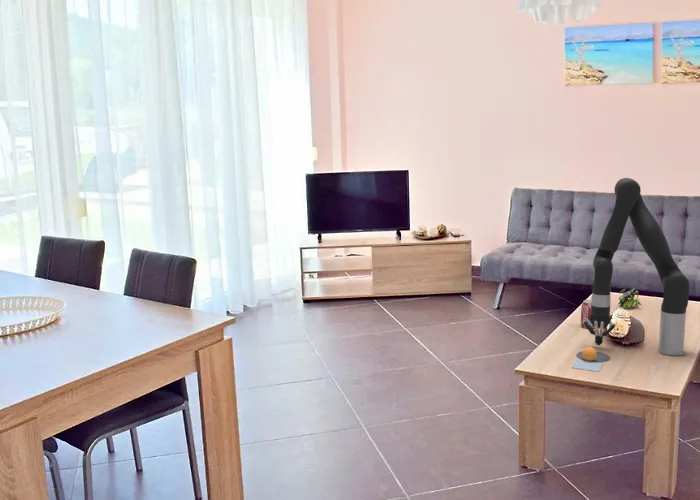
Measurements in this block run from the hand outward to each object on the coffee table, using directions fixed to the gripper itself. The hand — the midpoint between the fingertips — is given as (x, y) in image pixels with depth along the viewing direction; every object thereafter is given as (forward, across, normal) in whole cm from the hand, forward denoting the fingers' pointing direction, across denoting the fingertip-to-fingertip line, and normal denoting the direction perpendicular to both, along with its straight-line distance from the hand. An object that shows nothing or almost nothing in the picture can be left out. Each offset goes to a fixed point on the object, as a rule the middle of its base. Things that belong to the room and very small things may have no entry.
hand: (598, 344), depth 305 cm
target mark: (+2, 0, +12) cm, 12 cm away
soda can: (+2, +9, -29) cm, 30 cm away
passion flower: (+2, -3, -73) cm, 73 cm away
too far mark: (+2, 0, +24) cm, 24 cm away
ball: (-1, +1, +18) cm, 18 cm away
